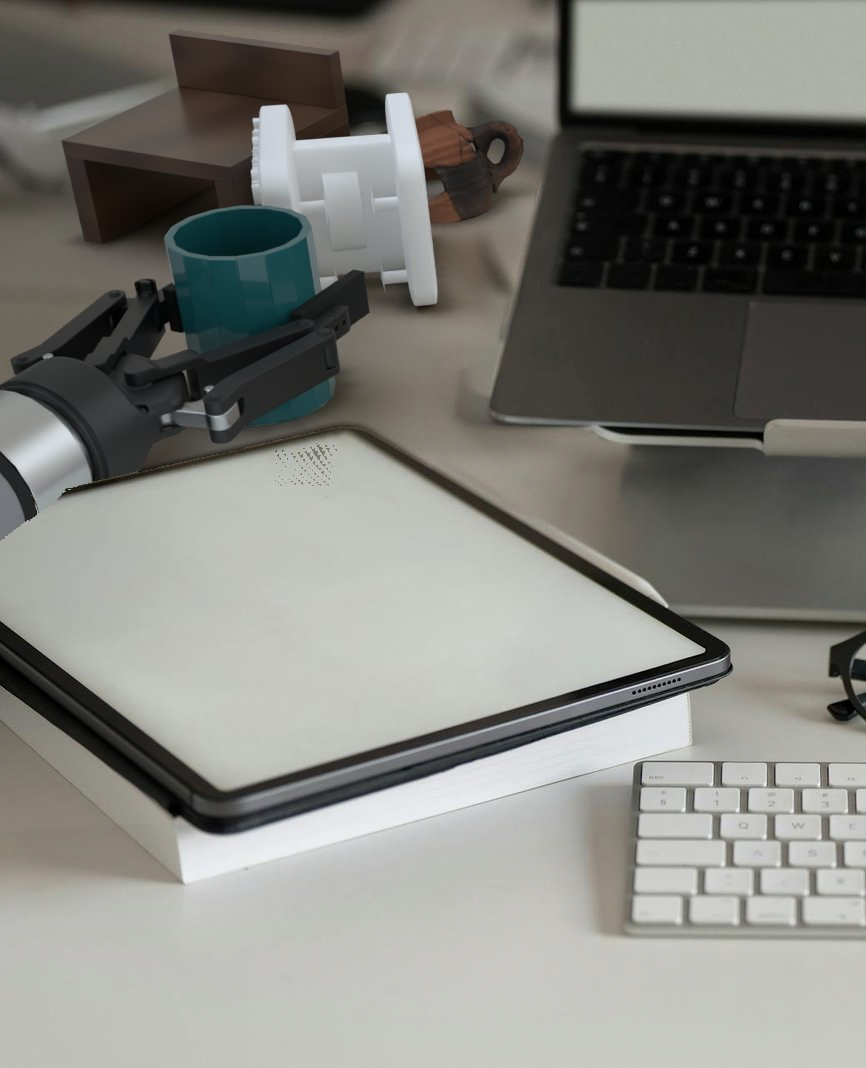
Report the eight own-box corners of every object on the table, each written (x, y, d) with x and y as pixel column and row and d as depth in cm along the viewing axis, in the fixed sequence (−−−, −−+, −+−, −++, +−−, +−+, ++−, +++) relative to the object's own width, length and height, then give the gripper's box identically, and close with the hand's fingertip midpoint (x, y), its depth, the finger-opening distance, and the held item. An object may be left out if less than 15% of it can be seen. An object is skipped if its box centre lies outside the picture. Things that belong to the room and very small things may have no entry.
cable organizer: (443, 327, 112) (424, 157, 106) (277, 343, 110) (247, 171, 103) (427, 240, 124) (409, 83, 118) (277, 253, 122) (251, 94, 115)
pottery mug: (399, 247, 124) (351, 140, 123) (396, 255, 133) (350, 155, 132) (550, 185, 127) (504, 79, 125) (536, 197, 136) (493, 99, 134)
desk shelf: (85, 247, 122) (47, 83, 116) (206, 182, 133) (178, 29, 127) (249, 277, 118) (220, 108, 112) (360, 207, 129) (339, 50, 123)
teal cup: (171, 419, 101) (134, 246, 95) (252, 362, 107) (222, 197, 101) (286, 443, 99) (255, 268, 93) (361, 384, 105) (337, 216, 99)
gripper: (-105, 478, 90) (168, 309, 109) (225, 556, 85) (456, 363, 103) (-145, 351, 86) (145, 198, 104) (198, 424, 80) (443, 247, 99)
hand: (299, 280), depth 104 cm, fingers closed on teal cup, 8 cm apart
